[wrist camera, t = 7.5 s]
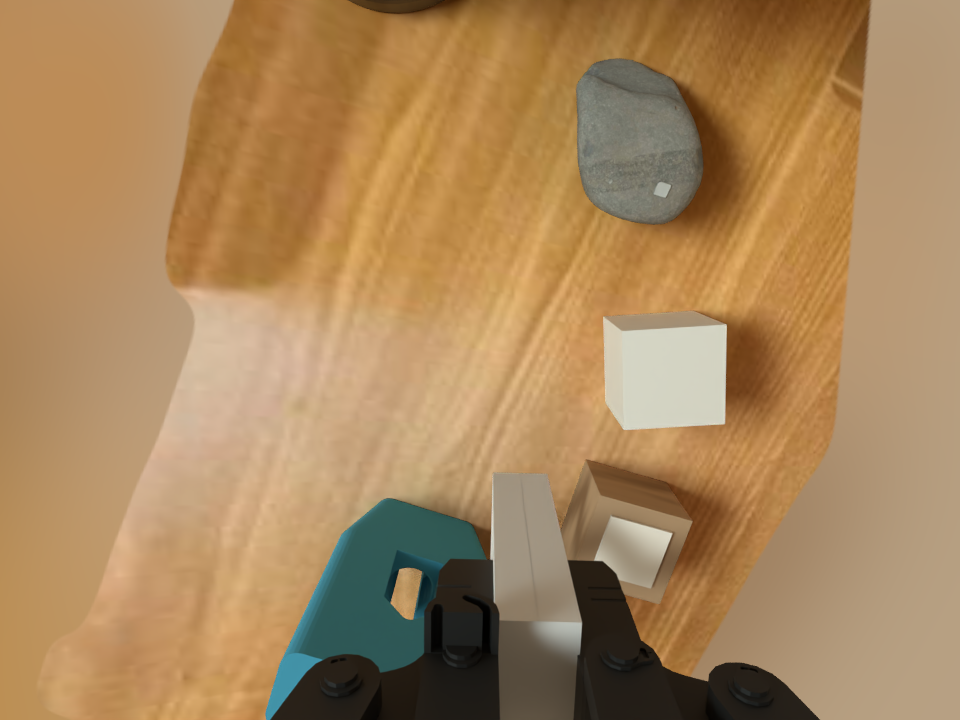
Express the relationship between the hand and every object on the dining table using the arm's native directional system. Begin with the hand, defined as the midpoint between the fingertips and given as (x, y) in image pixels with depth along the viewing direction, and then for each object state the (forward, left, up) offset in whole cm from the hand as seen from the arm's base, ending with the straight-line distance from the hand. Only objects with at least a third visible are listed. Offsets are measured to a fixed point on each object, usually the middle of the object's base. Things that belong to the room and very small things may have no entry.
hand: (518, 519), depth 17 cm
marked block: (+15, +10, -33) cm, 37 cm away
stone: (-14, +9, -33) cm, 37 cm away
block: (+18, -6, -33) cm, 38 cm away
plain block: (+2, +12, -33) cm, 35 cm away
